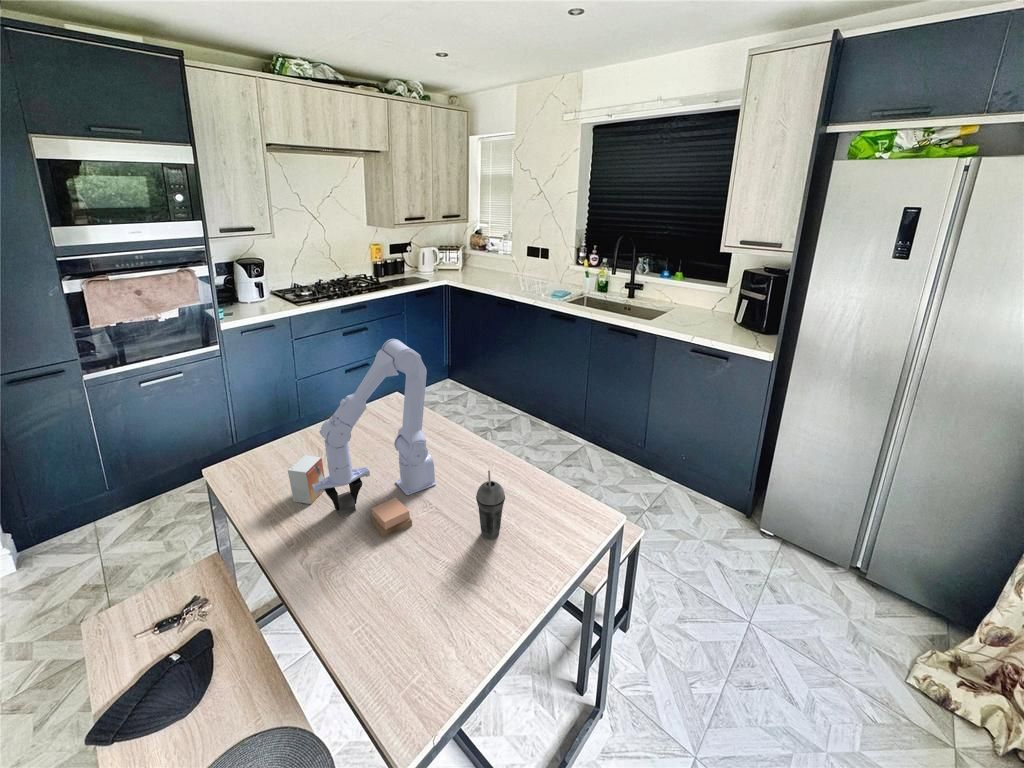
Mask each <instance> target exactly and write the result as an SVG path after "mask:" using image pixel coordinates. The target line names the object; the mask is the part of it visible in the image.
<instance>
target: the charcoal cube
mask: <svg viewBox="0 0 1024 768" xmlns="http://www.w3.org/2000/svg"><path fill="white" fill-rule="evenodd" d="M338 504H339V510H338V511H337V512H338V513H339V515H340V516H341V517H344V516H346V515H349V514H351V513H354V512H356V511H357V508H356V504H355V500H354V498H353V496H352V495H351V493H350V491H346V492H344V493H341V494H338Z"/></svg>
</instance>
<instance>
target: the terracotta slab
mask: <svg viewBox="0 0 1024 768" xmlns="http://www.w3.org/2000/svg"><path fill="white" fill-rule="evenodd" d="M371 513H372V514H373V517H374V518H375V519H376V520H377V521H378V522H379V524H380V525H381V526H382V527H383V528H384V529H385V530H387V529H389V528H391V527H393V526H395V525H397V524H399V523H402V522H404V521H406V520H408V519H410V518H411V515H410V510H409V509H408V507H406V506H405V505H404V504H403V503H402V502H401V501H400V500H399V499H398V498H397V497H394V498H392V499H389V500H388V501H386V502H383V503H380V504H378V505H377V506H374V507H371ZM372 514H371V515H372Z"/></svg>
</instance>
